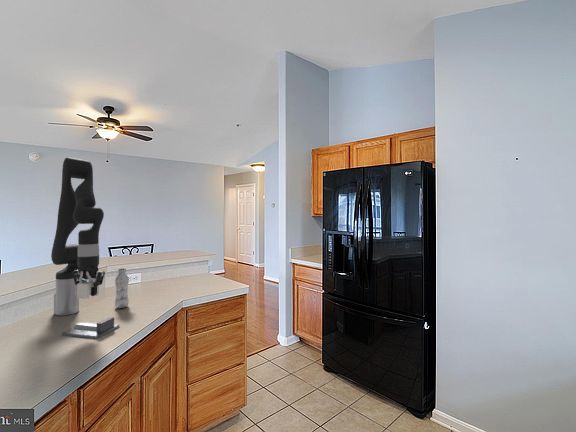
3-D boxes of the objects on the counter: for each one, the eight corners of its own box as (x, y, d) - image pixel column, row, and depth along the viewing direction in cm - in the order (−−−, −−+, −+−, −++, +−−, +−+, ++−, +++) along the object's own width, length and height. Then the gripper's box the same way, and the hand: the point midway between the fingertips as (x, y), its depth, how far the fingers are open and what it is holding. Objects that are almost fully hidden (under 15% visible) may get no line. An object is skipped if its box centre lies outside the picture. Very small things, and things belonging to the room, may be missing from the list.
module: (77, 298, 119) (77, 283, 119) (89, 294, 125) (89, 280, 125) (87, 298, 119) (87, 284, 118) (98, 294, 124) (98, 280, 124)
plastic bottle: (112, 310, 147) (113, 270, 146) (116, 306, 153) (117, 268, 153) (126, 309, 148) (127, 270, 148) (130, 305, 155) (130, 267, 155)
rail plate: (62, 335, 117) (62, 322, 117) (87, 323, 129) (87, 312, 129) (96, 338, 114) (97, 326, 114) (119, 326, 126) (119, 315, 126)
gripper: (65, 255, 119) (65, 296, 119) (96, 256, 117) (96, 298, 117) (81, 252, 127) (81, 291, 127) (110, 253, 124) (110, 293, 124)
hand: (88, 295), depth 122 cm, fingers closed on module, 4 cm apart
